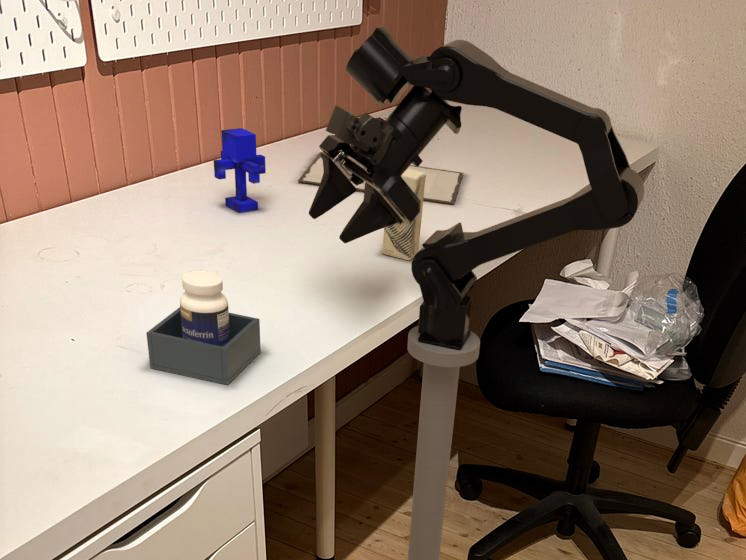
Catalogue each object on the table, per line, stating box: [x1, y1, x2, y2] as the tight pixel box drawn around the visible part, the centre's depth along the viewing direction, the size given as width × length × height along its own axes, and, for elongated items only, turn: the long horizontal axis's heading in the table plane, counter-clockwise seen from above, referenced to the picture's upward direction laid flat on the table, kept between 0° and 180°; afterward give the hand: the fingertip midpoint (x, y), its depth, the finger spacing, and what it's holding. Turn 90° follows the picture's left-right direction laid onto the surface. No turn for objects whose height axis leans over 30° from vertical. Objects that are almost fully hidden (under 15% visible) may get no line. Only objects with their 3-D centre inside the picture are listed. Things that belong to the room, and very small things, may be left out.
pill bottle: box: [179, 270, 230, 347], centre depth 118 cm, size 6×6×10 cm
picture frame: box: [297, 151, 465, 205], centre depth 189 cm, size 22×1×30 cm
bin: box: [146, 306, 261, 386], centre depth 120 cm, size 10×10×5 cm
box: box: [382, 168, 426, 261], centre depth 154 cm, size 5×4×13 cm
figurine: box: [213, 127, 267, 214], centre depth 162 cm, size 8×8×12 cm
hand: (326, 228), depth 123 cm, fingers open, 9 cm apart
